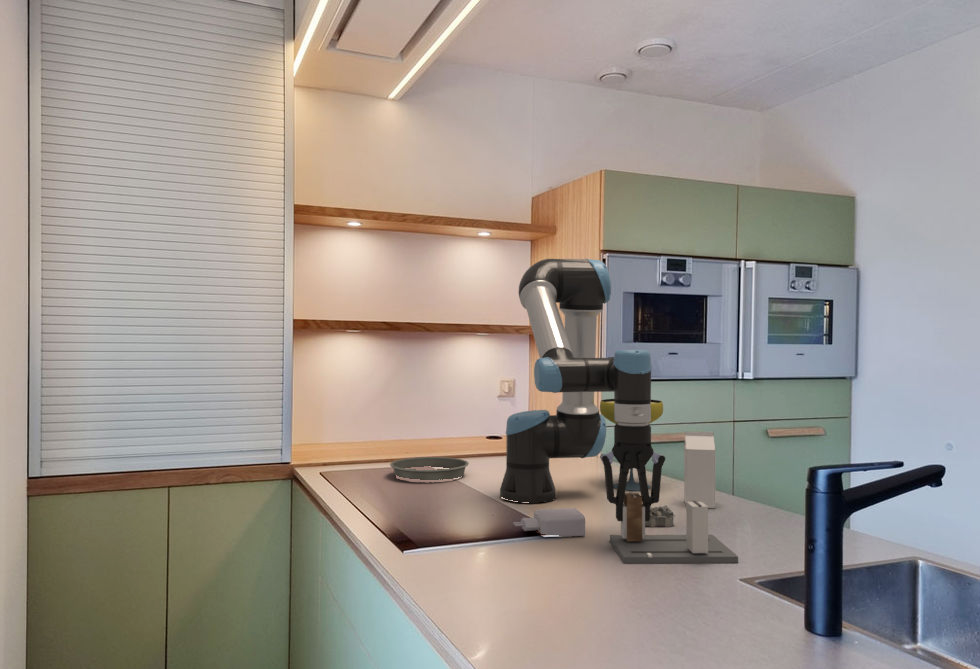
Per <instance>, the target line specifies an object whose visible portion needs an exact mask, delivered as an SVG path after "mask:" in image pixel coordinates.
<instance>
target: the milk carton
mask: <svg viewBox="0 0 980 669" xmlns="http://www.w3.org/2000/svg"><path fill="white" fill-rule="evenodd" d="M683 446H684V448H683V451H684V452H683V453H684V454H683V456H684V457H683V458H684V459H683V461H684V462H683V467H684V468H683V469H684V470H683V473H684V474H683V475H684V476H683V478H684V479H683V482H684V483H683V484H684V485H683V486H684V490H683V492H684V494H683V497H684V503H685V504H684V505H686V502H693V500H695V501H697V502H702V503H704V504H705V505H706V506H708V509H716V445H715V435H714V431H688V430H687V431H684V444H683Z"/></svg>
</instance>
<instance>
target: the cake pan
mask: <svg viewBox="0 0 980 669" xmlns="http://www.w3.org/2000/svg"><path fill="white" fill-rule="evenodd" d="M389 465H390V468H392V469H393V473H394V476H395V475H397V476H399V477H403V478H409V479H420V480H439V479H440V480H441V479H442V480H443V479H453V478H458V477H461V476H462V475H463V474H465V470H466V467H468V466H469V461H468V460H465V459H461V458H455V457H446V456H418V457H417V456H415V457H409V458H401V459H397V460H394V461H392V462H391V463H390V464H389ZM424 466H431V467H443V468H449V469H437V470H416V469H405V468H411V467H424ZM463 476H464V475H463Z"/></svg>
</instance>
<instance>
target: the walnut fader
mask: <svg viewBox="0 0 980 669" xmlns="http://www.w3.org/2000/svg"><path fill="white" fill-rule="evenodd" d="M623 504H625V505H626V506H627V538H626V540H627V541H642V504H643V502H642V497H641V494H639V493H638V492H634V491H628V492H625V496H624V503H623Z"/></svg>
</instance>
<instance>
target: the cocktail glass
mask: <svg viewBox="0 0 980 669" xmlns="http://www.w3.org/2000/svg"><path fill="white" fill-rule="evenodd" d="M614 403H615V402H614V398H607V399H602V400H600V402H599V413H600V414H601V415H602V416H603V417H604V418H605V420H608V421H609V422H611V423H613V424H617V422H615V421H614ZM663 413H664V403H663V401H662V400H658V399H651V422H649V423H648V425H651V424H652V423H654V422H655V421H657V420H658V419H659V418H660V417H662V415H663ZM628 476H629V477H628V480H627V483H626V490H628V492H640V485H639V482H636V481H635V477H634V468H632V469H629V475H628ZM647 485H648V490H651V486H650V485H649V484H647ZM613 486H614V489H616V490H617V486H618V482H616V483H613Z"/></svg>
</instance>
